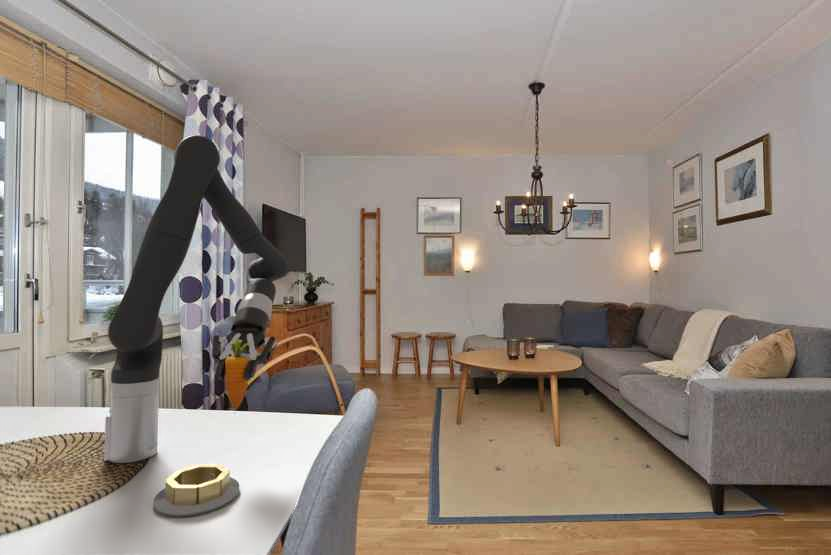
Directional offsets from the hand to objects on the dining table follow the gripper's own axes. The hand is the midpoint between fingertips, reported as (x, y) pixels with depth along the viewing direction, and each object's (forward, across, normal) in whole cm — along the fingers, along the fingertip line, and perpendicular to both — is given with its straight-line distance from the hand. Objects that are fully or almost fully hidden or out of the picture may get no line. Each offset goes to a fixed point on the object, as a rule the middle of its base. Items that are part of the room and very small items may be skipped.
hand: (233, 377), depth 90 cm
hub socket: (+21, -2, +7) cm, 22 cm away
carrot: (+4, 0, +6) cm, 8 cm away
